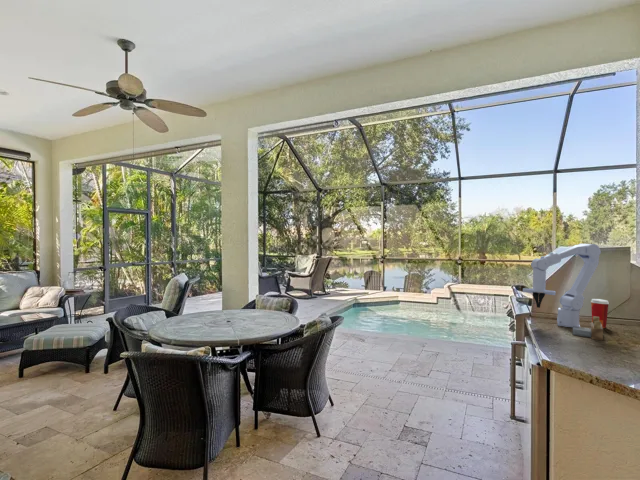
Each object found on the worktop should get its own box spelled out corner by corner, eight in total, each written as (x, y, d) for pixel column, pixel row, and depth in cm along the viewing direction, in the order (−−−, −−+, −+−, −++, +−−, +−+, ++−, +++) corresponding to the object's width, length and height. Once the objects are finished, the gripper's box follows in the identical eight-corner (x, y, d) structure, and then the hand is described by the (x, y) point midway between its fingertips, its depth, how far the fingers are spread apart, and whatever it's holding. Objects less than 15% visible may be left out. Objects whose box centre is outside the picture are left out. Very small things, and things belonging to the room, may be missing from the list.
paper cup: (601, 325, 186) (602, 298, 186) (612, 329, 178) (613, 301, 178) (586, 324, 187) (586, 298, 186) (595, 328, 179) (596, 301, 179)
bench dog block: (591, 338, 160) (592, 321, 160) (590, 332, 172) (590, 315, 172) (602, 340, 158) (603, 323, 158) (600, 333, 170) (601, 317, 169)
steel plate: (572, 335, 167) (572, 329, 167) (572, 332, 173) (572, 326, 173) (591, 338, 163) (591, 331, 163) (590, 334, 168) (590, 328, 168)
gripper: (522, 280, 184) (521, 306, 184) (555, 283, 176) (554, 310, 176) (523, 279, 190) (523, 304, 190) (556, 282, 181) (555, 308, 182)
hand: (538, 307), depth 183 cm, fingers closed
